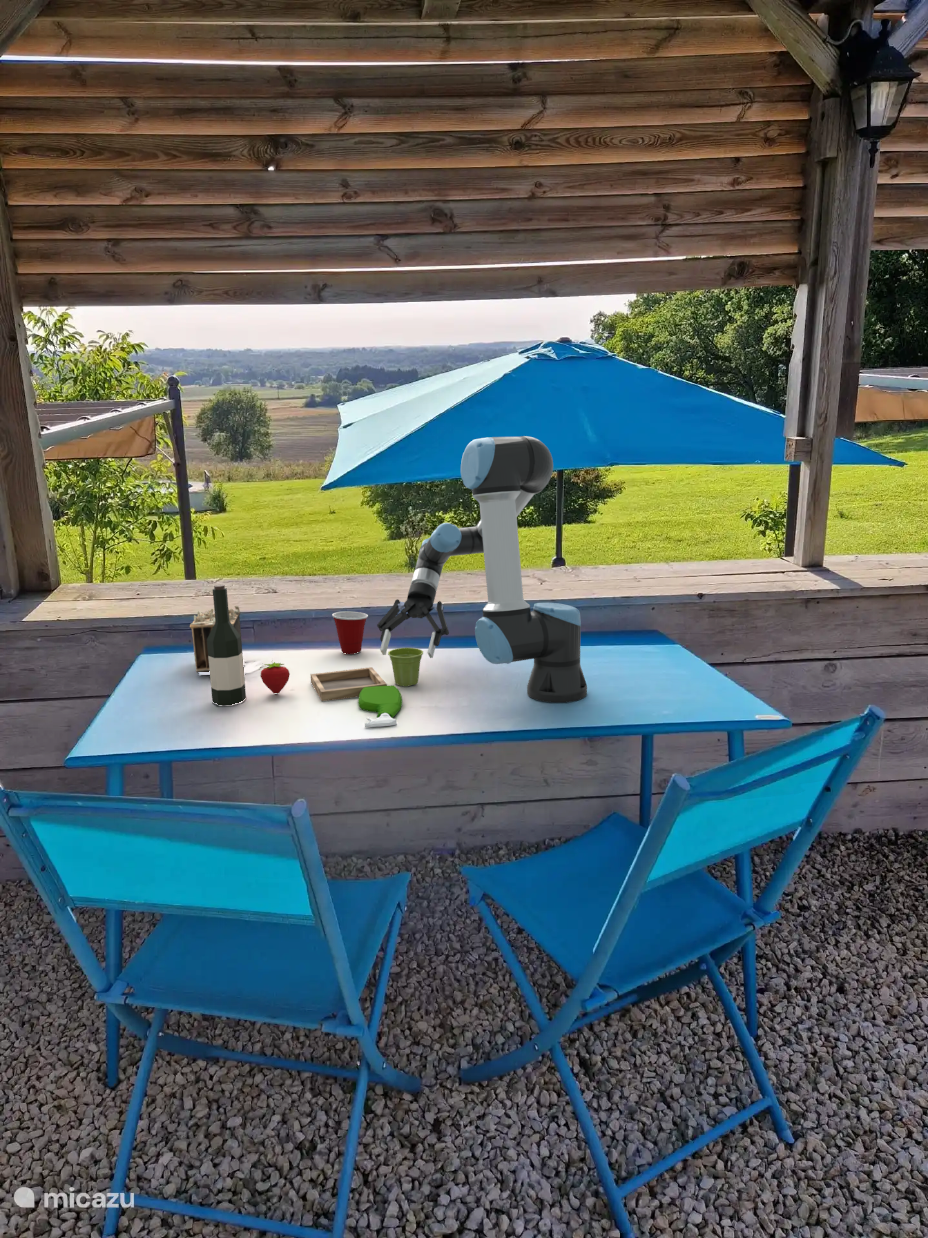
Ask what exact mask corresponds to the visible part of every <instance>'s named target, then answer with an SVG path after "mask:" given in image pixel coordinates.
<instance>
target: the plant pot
mask: <svg viewBox="0 0 928 1238" xmlns="http://www.w3.org/2000/svg"><path fill="white" fill-rule="evenodd" d="M423 655H424V651H423V650H422V649H421V648H415V647H398V648H395V649H391V650H389V651H388V653H387V656H389V659H390V662H391V666H392V670H393V671H392V672H393V678H394V683H395V685H398V686H399V687H411V686H416V685H417V684H418V683H419V676H420V666H421V660H422V657H423Z"/></svg>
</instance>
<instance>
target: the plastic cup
mask: <svg viewBox="0 0 928 1238" xmlns="http://www.w3.org/2000/svg"><path fill="white" fill-rule="evenodd" d="M331 615H332V618H333V620H334V623H335V628H336V632H337V633H336V634H337V637H338V638H337V639H338V642H339V644H340V651H341V653H342V652H343V653H346V654H345V655H355V654H354V653H357V652H360V651H362V647H363V646H362V645H363V639H364V631H365V625H366V622H367V618H369V615H368V614H367V613H364V612H360V611H359V612H358V611H337V612H334V613H332V614H331ZM343 653H342V654H343ZM360 653H361V652H360ZM357 654H358V653H357Z"/></svg>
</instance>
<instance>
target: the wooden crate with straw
mask: <svg viewBox="0 0 928 1238" xmlns="http://www.w3.org/2000/svg"><path fill="white" fill-rule="evenodd" d="M234 608H235V610H234V609H232V608H230V609H229V621H230V622H231V624H232V625H233V626H234V628H235V629H236V630H237V632H238V633H239V634H240V636H241V637H242V629H241V620H240V619H241V618H240V615H241V611H240V608H239V606H238V605H235V606H234ZM214 624H215V612H214V608H211V609H209V610H208V611H205V612H200V611H197V615H195V614H194V615H193V621H192V623H190V624H189V628H190V629H191V634H192V635H191V636H192V644H193V657H194V662H195V663H194V664H195V672H196V673H198V672H209V671H210V669H209V659H208V648H207V638H208V636H209V634H210V632H211V630H212V628H213V626H214ZM241 643H242V644H243V642H242V640H241ZM242 655H243V652H242Z"/></svg>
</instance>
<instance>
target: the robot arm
mask: <svg viewBox="0 0 928 1238" xmlns="http://www.w3.org/2000/svg"><path fill="white" fill-rule="evenodd" d="M553 461H554V459H553V456H552V453H551V452H550V449H549V448H548V446H546V445H545V443H543V442H542V441H541V440H540V439H538V438H536V437H532V436H527V435H526V436H525V435H523V436H522V435H521V436H492V437H481V438H476V439H472V441H470V442H469V443H468V444H467V445H466V447H465V449H464V452H463V453H462V458H461V464H460V477H461V480H462V484H463V485H464V487H466V488H467V489H469V490H471V492H472V495H471V496H472V498H474V500H476V501H477V502H478V504H479V511H480V520H479V521H478V522H477V524H476V525H475V526H469V527H468V526H467V527H458V526H457V525H455V524H452V523H450V522H444V523H440V524H439V525H438V526H437V527H436V529H435V530H433V531H432V532H431V535H430V537H428V538H425V539H424V540H423V541H422V543H421V546H420V548H419V552H418V556H417V561H416V564H415V568H414V572H413V575H412V578H411V582H410V587H409V590H408V593H407V598H406V600H405V601H400V599H395V600H394V602H393V605H392V606H391V608H390V609H389V610H388V611H387V612H386V613H385V615H384V616H383V617H382V618H381V619H380V621H379V622H378V623H377V624H376V626H377V629H379V631H380V632H381V634H380V639H379V640H380V641H381V645H380V649H379V650H380V652H381V653H382V655H383V656H386V655H387V650H388V647H389V644H390V640H391V636H392V633H391V632H392V631H393V630H395V629H396V628H397V627H398V626H400V625H401V624H402V623H404V621H406V620H409V619H410V618H411V619H423V618H426V620H427V621H428V623H429V624H430V625H431V627H432V629H433V630H434V631H432V633H431V636H430V637H431V638H430V641H429V644H428V645H429V646H428V649H427V653H426V654H427V655H428V657H429V658H430V659H433V658H434V654H435V650H436V647H439V646H440V644H441V643H440V642H441V639H442V636H449V634H450V631H449V628H448V625H447V622H446V618H445V615H444V607H445V606H444V605H443V602H442V601H440V600H439V601H437V603H436V602H435V600H436V594H437V591H438V588H439V587H438V586H439V584H440V583H439V582H440V579H441V575H442V572H443V567H444V565H445V564H446V562H447V561H448V560H449V558H450V557H455V556H464V555H465V556H466V555H467V556H468V555H474V554H483V557H484V571H485V582H486V594H487V603H486V604H485V606H484V607H483V608H482V616H481V618H479V619H478V620H477V621H476V623H475V627H474V634H475V635H474V636H475V640H476V644H477V647H478V649H479V651H480V653H481V654H482V656H483V658H485V660H486V661H487V662H489V663H491V664H493V665H500V664H501V665H502V664H511V663H516V662H521V661H528V660H533V666H532V670H531V672H530V676H529V679H528V682H527V685H526V686H527V688H526V694H527V695H528V697H529V698H531V699H533V700H535V701H539V702H543V703H554V704H555V703H559V704H560V703H571V702H577V701H579V700H582V699H584V698H586V697H587V696H588V685H587V682H586V678H585V676H584V672H583V669H582V666H581V627H582V622H581V613H580V610H579V609H578V608H576V607H574V606H572V605H568V604H563V603H558V602H557V603H556V602H537V603H534V604H533V607H532V611H531V605H530V604H529V603H528V602H527V601H526V600H525V599H524V591H523V589H524V588H523V580H522V567H521V555H520V543H519V541H520V540H519V533H518V532H519V531H518V530H519V529H518V518H517V517H518V516H519V515H520V514H521V512H522V511H523V510H524V508H525V507H526V506H527V504H528V503H529V502H530V500H531V499H532V498H533V497H534V495H535V494H538V493H541V492H542V491H543V490H544V489H545V487H547V485H548V483H549V482H550V480H551V478H552V475H553V473H554V472H553V470H554V462H553ZM433 610H435V611H436V612H437V615H438V618H439V621H440V622H439V623H440V626H441V628H440V627H439V626H438V624H437V623H436V620H434V618H433V617H432V615H431V612H432V611H433ZM400 611H401V612H400Z"/></svg>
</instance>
